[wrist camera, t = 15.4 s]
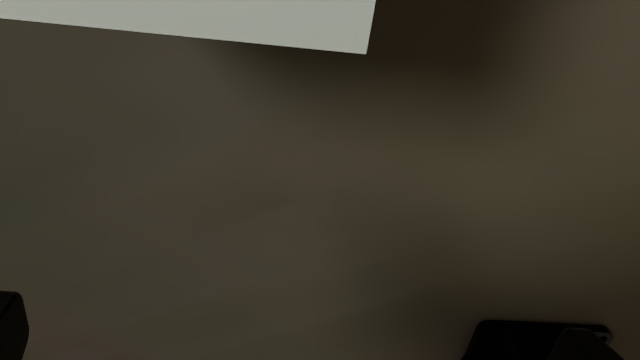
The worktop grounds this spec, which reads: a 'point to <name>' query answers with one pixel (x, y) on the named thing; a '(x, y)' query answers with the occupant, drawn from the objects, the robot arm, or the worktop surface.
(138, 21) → the pale grey cube
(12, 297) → the robot arm
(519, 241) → the worktop surface
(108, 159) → the worktop surface
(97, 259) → the worktop surface
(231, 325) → the worktop surface
